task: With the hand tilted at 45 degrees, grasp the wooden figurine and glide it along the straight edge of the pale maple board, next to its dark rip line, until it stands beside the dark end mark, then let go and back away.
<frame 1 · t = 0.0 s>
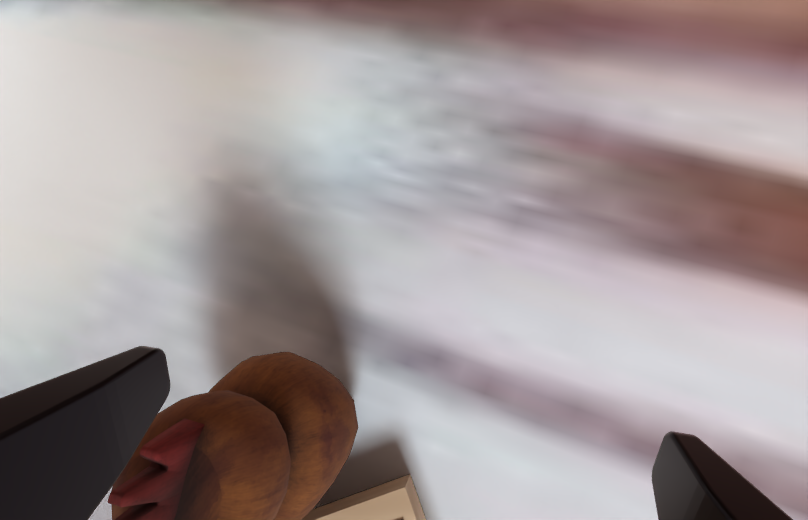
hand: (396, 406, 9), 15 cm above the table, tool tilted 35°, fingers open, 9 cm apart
wooden figurine: (306, 422, 24), on the table
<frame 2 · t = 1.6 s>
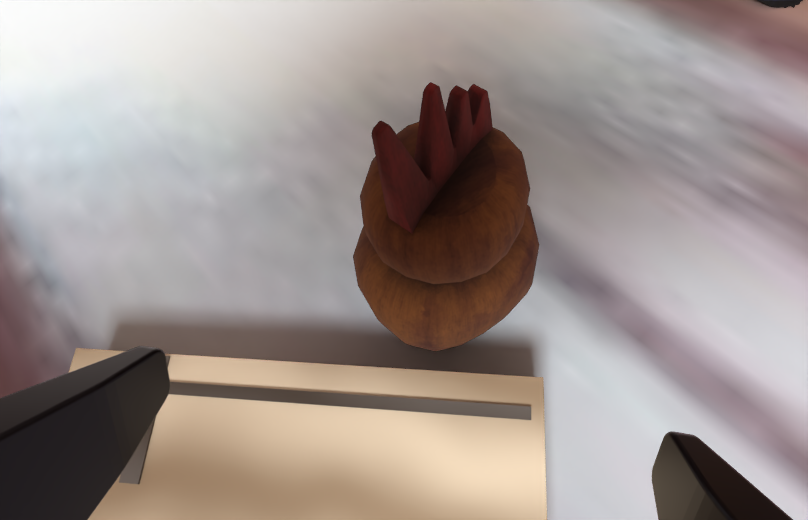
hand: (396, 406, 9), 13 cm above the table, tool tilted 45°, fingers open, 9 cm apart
maple board: (291, 506, 20), on the table
wooden figurine: (446, 296, 23), on the table
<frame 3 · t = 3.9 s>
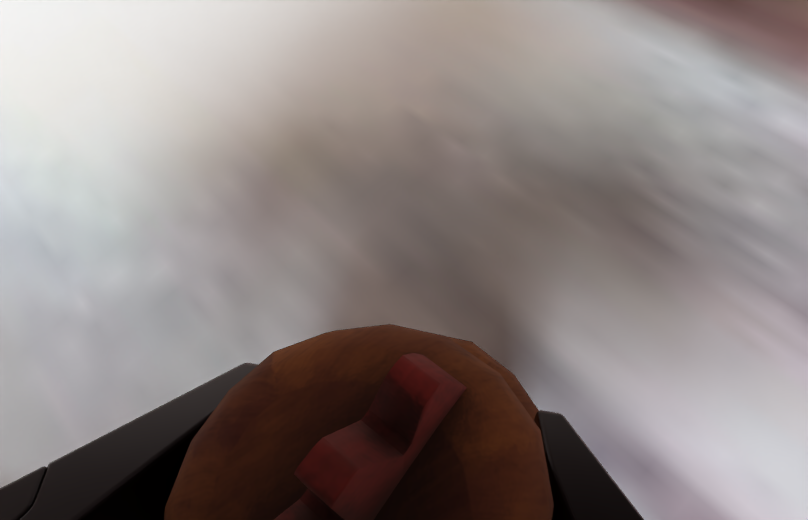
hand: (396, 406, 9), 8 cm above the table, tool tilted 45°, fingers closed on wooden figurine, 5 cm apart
wooden figurine: (412, 472, 16), on the table, touching gripper
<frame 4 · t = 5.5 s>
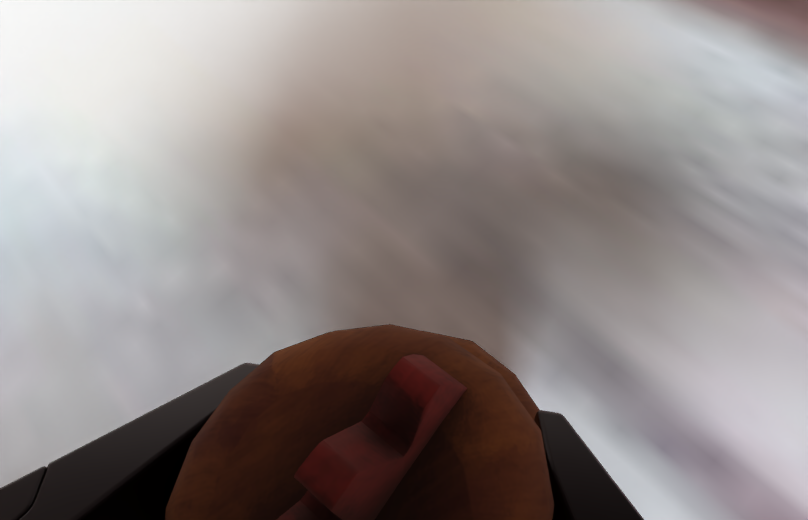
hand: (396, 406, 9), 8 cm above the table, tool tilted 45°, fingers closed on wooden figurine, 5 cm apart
wooden figurine: (413, 471, 16), on the table, touching gripper
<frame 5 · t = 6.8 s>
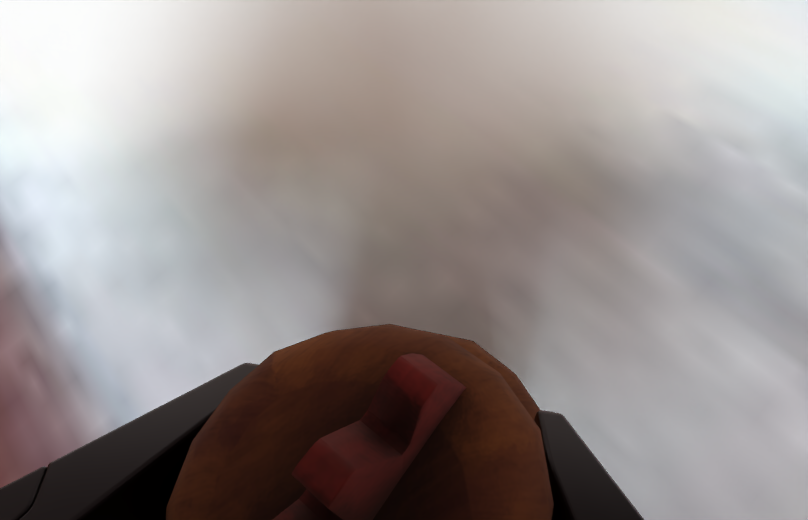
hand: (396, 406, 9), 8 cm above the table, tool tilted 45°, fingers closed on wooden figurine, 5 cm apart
wooden figurine: (414, 471, 16), on the table, touching gripper
when the fingers open (8 cm above the table, at t = 8.2 s): wooden figurine stays where it is, on the table.
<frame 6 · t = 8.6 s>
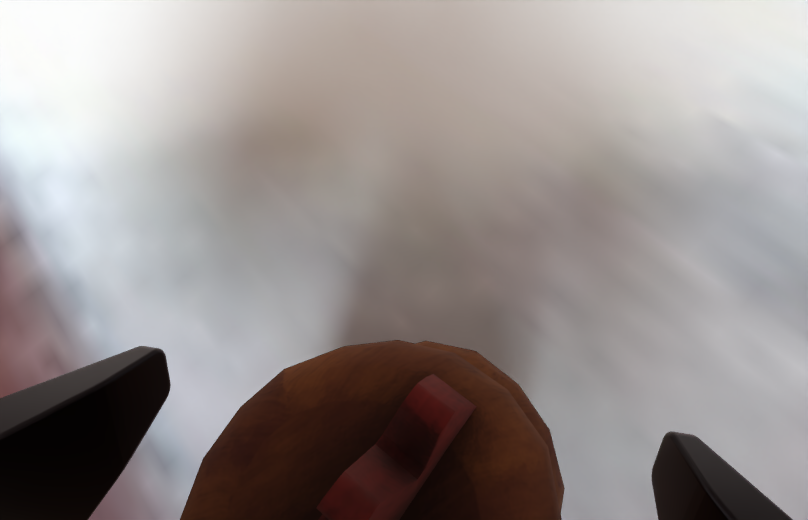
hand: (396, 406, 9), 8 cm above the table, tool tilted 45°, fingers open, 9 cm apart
wooden figurine: (415, 478, 16), on the table
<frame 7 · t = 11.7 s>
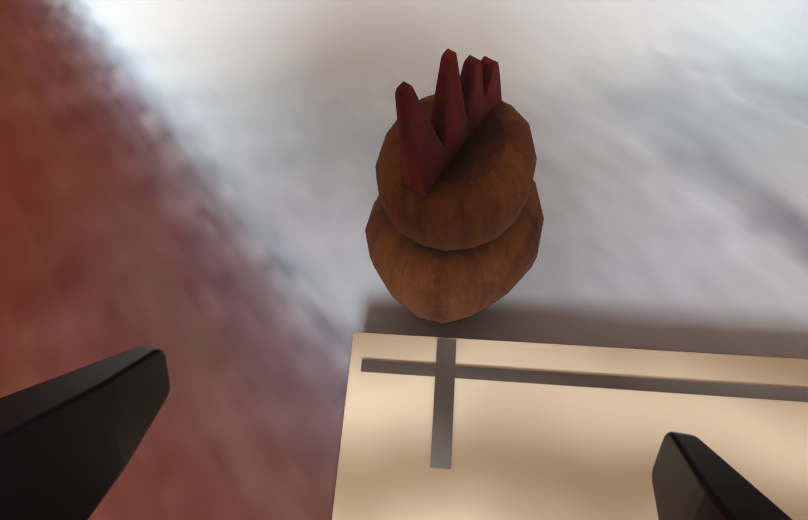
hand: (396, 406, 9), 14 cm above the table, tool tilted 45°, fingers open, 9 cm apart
maple board: (588, 493, 20), on the table
wooden figurine: (452, 274, 24), on the table
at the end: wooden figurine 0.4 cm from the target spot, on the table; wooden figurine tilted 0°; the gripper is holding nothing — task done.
